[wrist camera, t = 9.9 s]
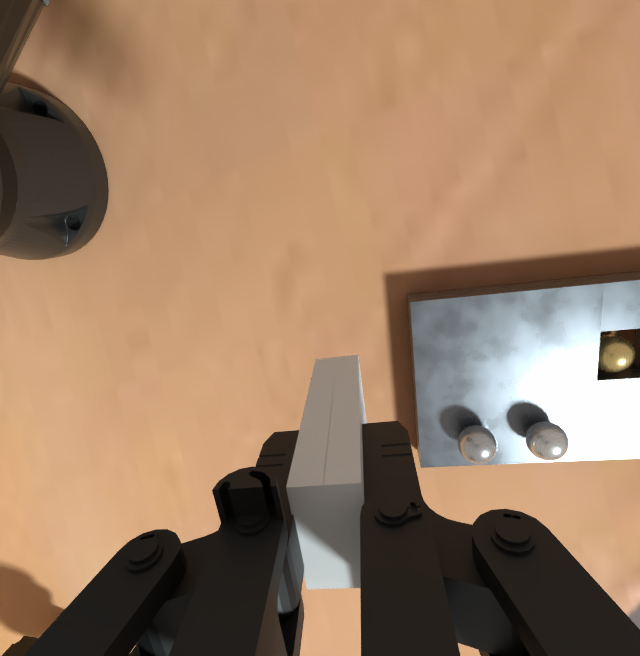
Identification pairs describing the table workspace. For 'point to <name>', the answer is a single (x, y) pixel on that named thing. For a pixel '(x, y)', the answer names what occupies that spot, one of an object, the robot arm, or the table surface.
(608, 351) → the brass ball
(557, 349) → the hole plate
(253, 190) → the table surface
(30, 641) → the pneumatic valve
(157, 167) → the table surface
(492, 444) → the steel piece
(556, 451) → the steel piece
